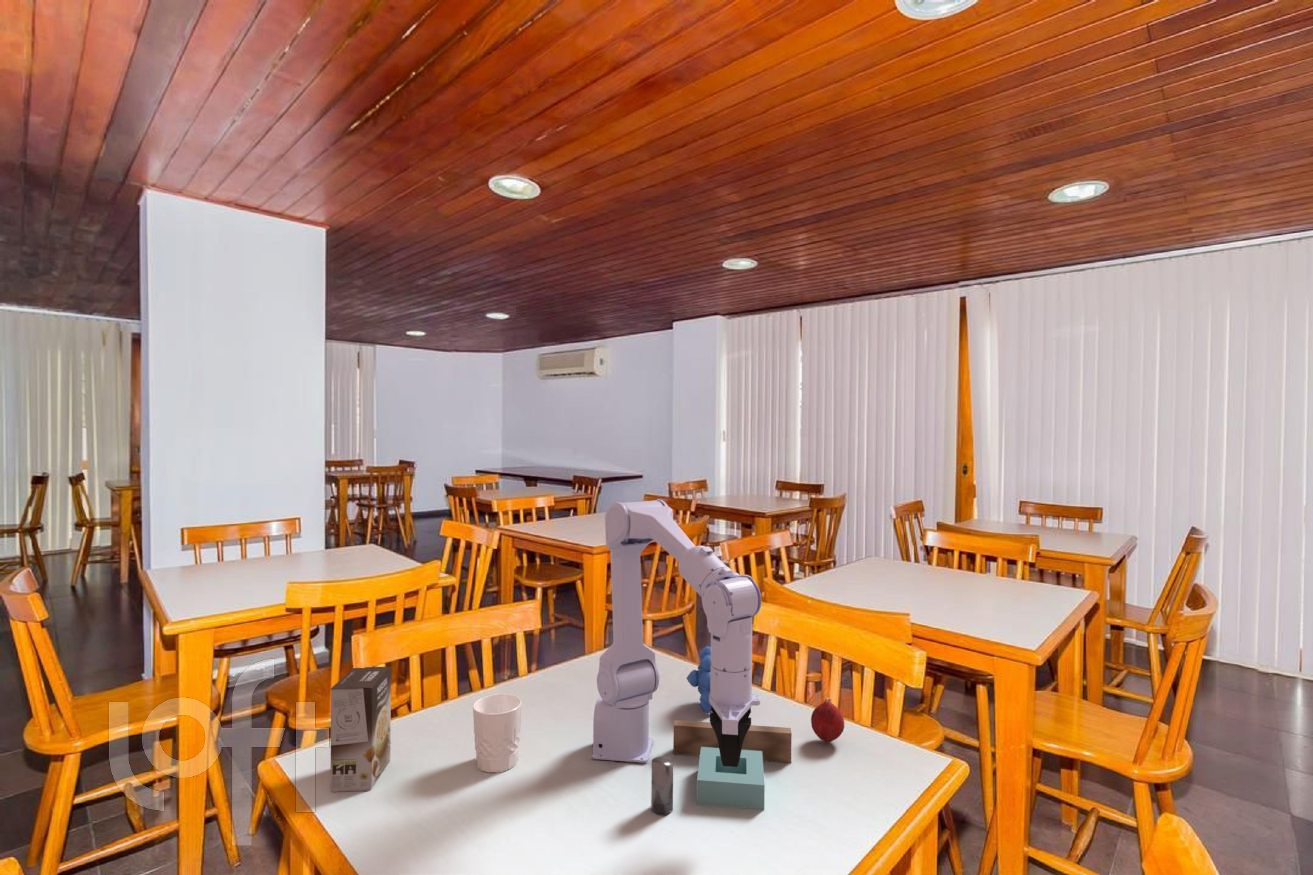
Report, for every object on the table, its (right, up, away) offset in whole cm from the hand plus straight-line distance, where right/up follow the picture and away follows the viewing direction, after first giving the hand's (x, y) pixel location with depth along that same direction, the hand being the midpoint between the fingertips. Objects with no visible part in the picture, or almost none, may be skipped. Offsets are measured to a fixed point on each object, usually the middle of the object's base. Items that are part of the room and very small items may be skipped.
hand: (730, 761), depth 89 cm
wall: (+3, -10, +21) cm, 23 cm away
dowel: (-9, -10, +5) cm, 15 cm away
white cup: (-37, -10, +18) cm, 42 cm away
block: (+1, -10, +11) cm, 15 cm away
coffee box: (-58, -10, +14) cm, 60 cm away
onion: (+20, -10, +26) cm, 34 cm away
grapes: (-1, -10, +40) cm, 41 cm away
